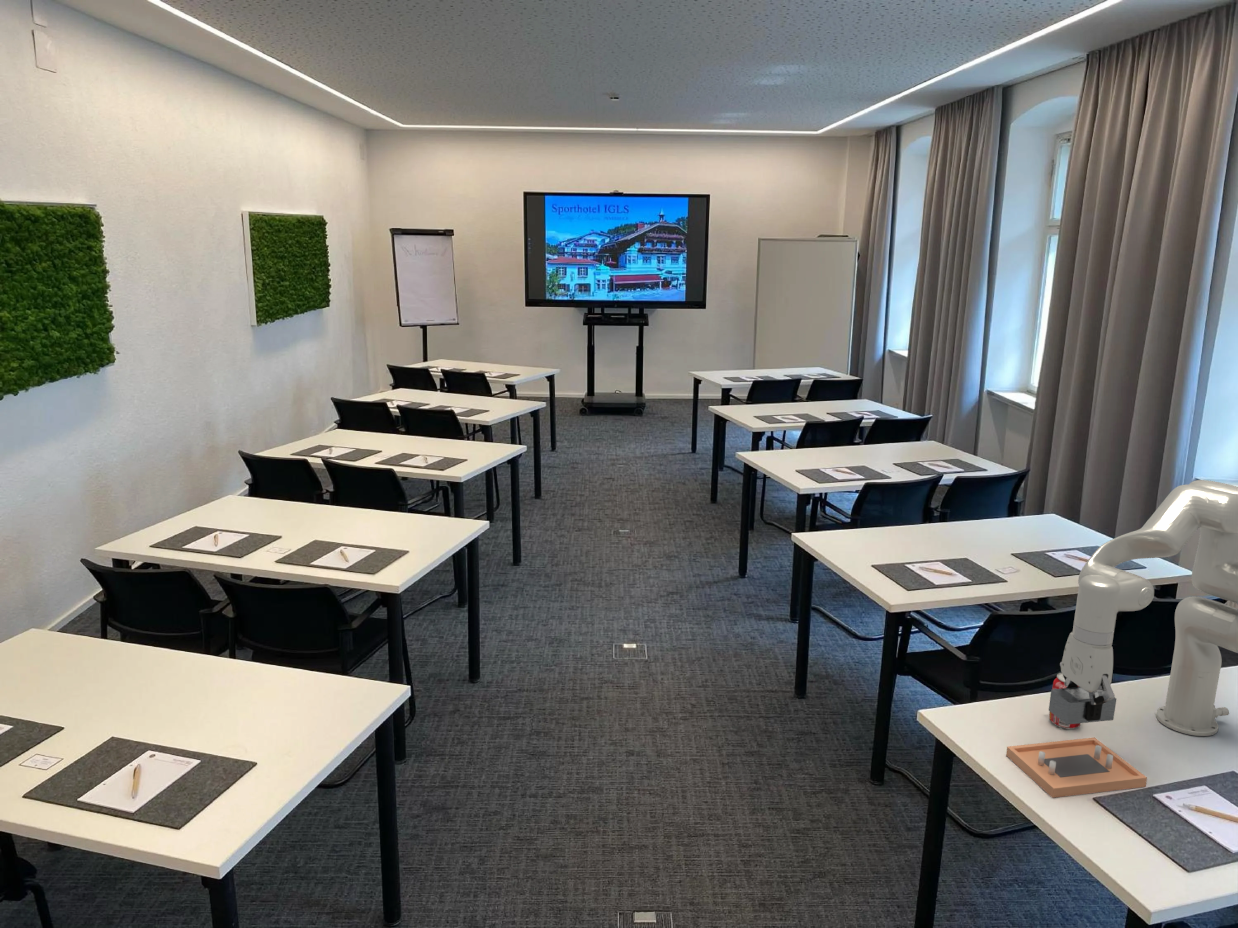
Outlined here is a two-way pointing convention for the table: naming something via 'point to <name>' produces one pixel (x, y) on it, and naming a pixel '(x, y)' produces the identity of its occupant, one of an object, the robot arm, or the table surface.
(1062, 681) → the soda can
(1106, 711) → the block
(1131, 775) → the drive tray
